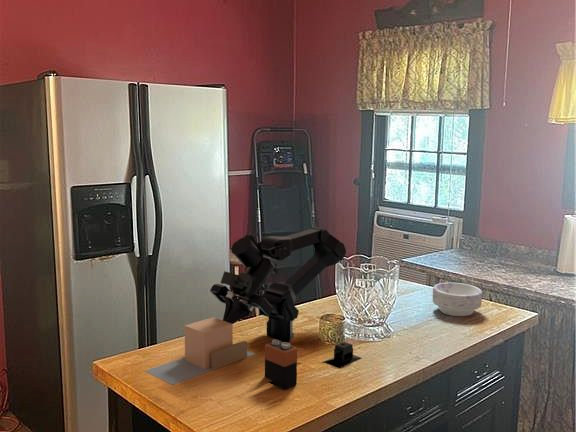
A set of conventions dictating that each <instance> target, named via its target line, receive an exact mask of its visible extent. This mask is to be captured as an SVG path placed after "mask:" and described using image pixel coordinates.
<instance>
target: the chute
mask: <svg viewBox="0 0 576 432" xmlns="http://www.w3.org/2000/svg"><path fill="white" fill-rule="evenodd" d="M253 355H256V353H255V352H254V351H253V352H252V351H250V350H248V341H247V340H243V341H240V342H237V343H233V345H230V346H228V347H225V348H222V349H219V350H216V351H213V352H211V367H208V368H206V369H204V368H201V367H199V366H197V365H195V364H192V363H190V362H188V361H185V356H184V357H181V358H179V359H175V360H172V361H170V362H167V363H164V364H163V363H162V364H160V365H158V366H154V367H152V368H149V369H146V370H144V372H145V373H147V374H149V375H152V376H153V377H155V378H158V379H160V380H162V381H163V382H166V383H167V384H169V385H173V386H174V385H176V384H179V383H181V382H184V381H187V380H190V379H192V378H195V377H197V376H200V375H203V374H206V373H208V372H211V371H214V370H216V369H218V368H221V367H224V366H226V365H229V364H232V363H234V362H238V361H240V360H242V359H243V360H244V359H246V358H249V357H250V356H253Z"/></svg>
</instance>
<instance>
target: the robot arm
mask: <svg viewBox="0 0 576 432" xmlns="http://www.w3.org/2000/svg"><path fill="white" fill-rule="evenodd" d="M310 246H312V248H313V255H312V256H311V257H310V258H309V259H308V260H307V261H306V262H305V263H304V264H303V265H302V266H301V267H300V268H299V269H297V271H296V272H294V273H293V274H292V275H291V276H290V277H289V278H287V280H286V281H285V282H283V283H280V282H275V281H274V282H273V283H271V284H270V286H268V288H265V287H264V284H266V281H267V280H268V278H269V277H270V275H271V274H275V275H277V274H278V273H279V270H278V268H277V266H278V265H277V263H276V262H275V263H274V262H272V261H271V260H274V261H279V262H280V261H283V260H286V258H289V257H290V256H291V255H292V253H293V252H295V251H297V250H300V249H305V248H306V247H310ZM230 250H231V253H232V254H233V256H234V257H235V258H236V259H237V260H238V261H239V262H240V263H241V264H242V265H243V266H244V268H247V269H246V271H245V272H240V273H239V274H235V273H233V272H228V271H223V275H222V276H221V280H220V284H219V283H214V284H213V285H212V287H211V288H210V290H209V291H210V293H211V294H212V295H213V296H214V297H215V298H216V299H217V300H218V301H219V302H220V303H222V304H224V305H225V307H224V308H225V309H224V313H223V318H222V321H225V322H228V323H231V324H233V325H234V324H235V323H237V322H239V321H241V320H242V319H244V318H246V317H248V316H250V315H251V316H252V315H253V314H254V313H253V310H254V308H255V309H259V313H260V315H261V316H263V317H267V318H268V320H267V321H266V337H268V338H270V339H273V340H279V341H280V342H283V343H284V342H285V343H290V342H291V340H292V339H293V338H294V335H295V333H294V332H293V331H294V330H293V325H294V324H293V322H294V321H295V319H297V318H298V317H299V312H300V310H299V309H298V308H297V307H296V305H295V303H296V299H297V296H298V295H299V294H300V293H301V292H302V291H303V290H304V289H305V288H306V287H307V286H308V285H309V284H310V283H311V282H313V280H314V279H316V277H317V276H318V275H319V274H321V272H323V270H324V269H326V268H328V267H331V266H336V265H337V264H339V263H340V262H341V261H343V260H344V258H345V257H346V254H347V249H346V247H345V243H343V242H341V241H340V240H339V239H338V238H336V237H335V236H333V235H332V234H330V232H329V231H328V230H327V229H325V228H320V227H316V226H312V227H310V228H309V229H306V230H303V231H302V230H301V231H299V232H295V233H292V234H289V235H286V236H276V235H275V236H274V235H270V236H264V237H263V238H262V239H261V241H258V242H257V240H256V239H255V237H254V236H253V235H252V234H249V233H248V234H247V233H246V234H245V236H244V237H241V238H239V239H237V241H235V242H233V244H232V246H231V248H230ZM226 285H227V286H229V288H228V287H227V286H226ZM264 291H265V292H264ZM260 292H263V294H262V295H259V293H260Z"/></svg>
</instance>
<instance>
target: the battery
mask: <svg viewBox="0 0 576 432" xmlns="http://www.w3.org/2000/svg"><path fill="white" fill-rule="evenodd" d="M297 368H298V348H297V347H295V346H293V345H292V344H291V343H290V342H282V341H279V340H276V339H273V340H272V341H271V342H269V343H266V344H265V345H264V378H265V379H268V380H270V381H268V383H269V384H270V385H272V386H275V387H276V388H278V389H282V390H287V389H289V388H292V387H294V386H296V385H297V383H298V382H297V381H298V380H297V378H298V377H297V376H298V375H297V373H298V369H297Z"/></svg>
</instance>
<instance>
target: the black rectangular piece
mask: <svg viewBox="0 0 576 432" xmlns="http://www.w3.org/2000/svg"><path fill="white" fill-rule="evenodd" d="M361 359H363V357H361V356H358V355H355V354H354V347H353V344H351V343H349V342H346V341H342V342H340V343H336V344H335V345H334V349H333V357H331V358H328V359H327V360H323V361H322V363H324V364H326V365H329V366H332V367H335V368H338V369H342V368H344V367H346V366H348V365H351V364H353V363H354V362H358V361H360V360H361Z"/></svg>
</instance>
